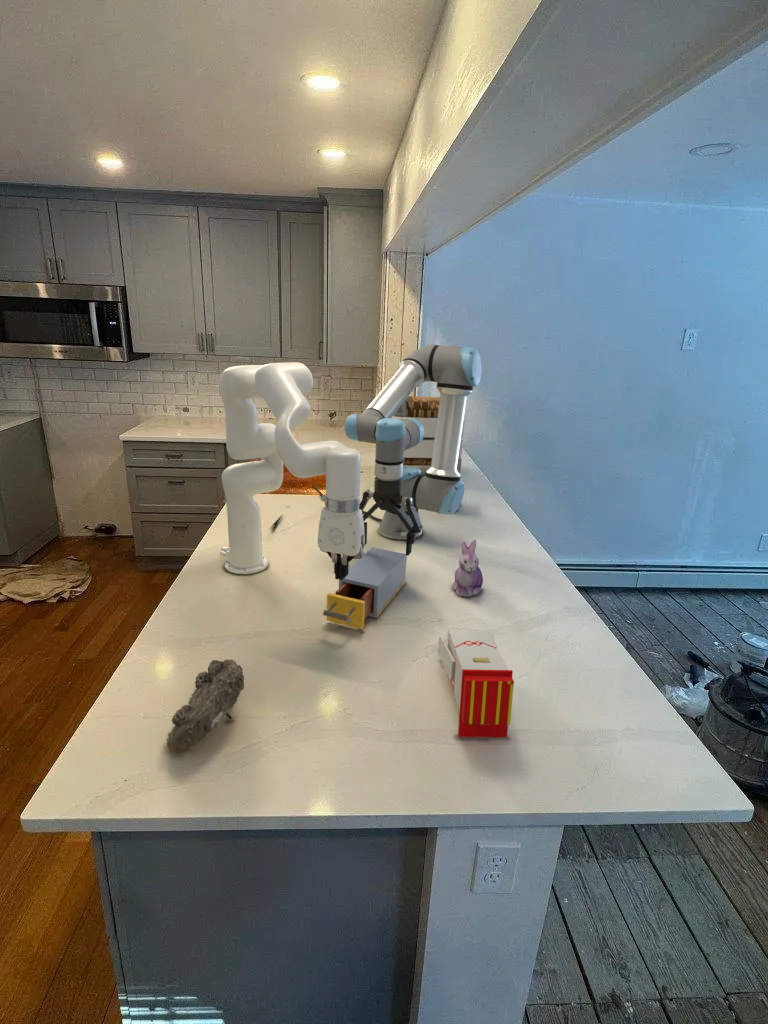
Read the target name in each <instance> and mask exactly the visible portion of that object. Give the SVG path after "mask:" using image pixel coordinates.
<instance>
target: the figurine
mask: <svg viewBox="0 0 768 1024" xmlns="http://www.w3.org/2000/svg"><path fill="white" fill-rule="evenodd" d="M476 549H477V540H476V539H473V540H472V541H471V543H470V544H469V546H468V545H467V544H466V542H465V540H461V542H460V551H461V554H460V557H459V559H458V564H459V567H458V568H457V569H456V570H455V572H454V582H453V590H454V591H455V593H456V594H457V595H458V596H461V597H466V598H469V597H472V596H476V595H478V594H479V593H480V592H481V591H482V587H483V583H484V576H483V572H482V570H481V568H480V567H479V563H480V561H479V558H478V556H477V554H476Z"/></svg>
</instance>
